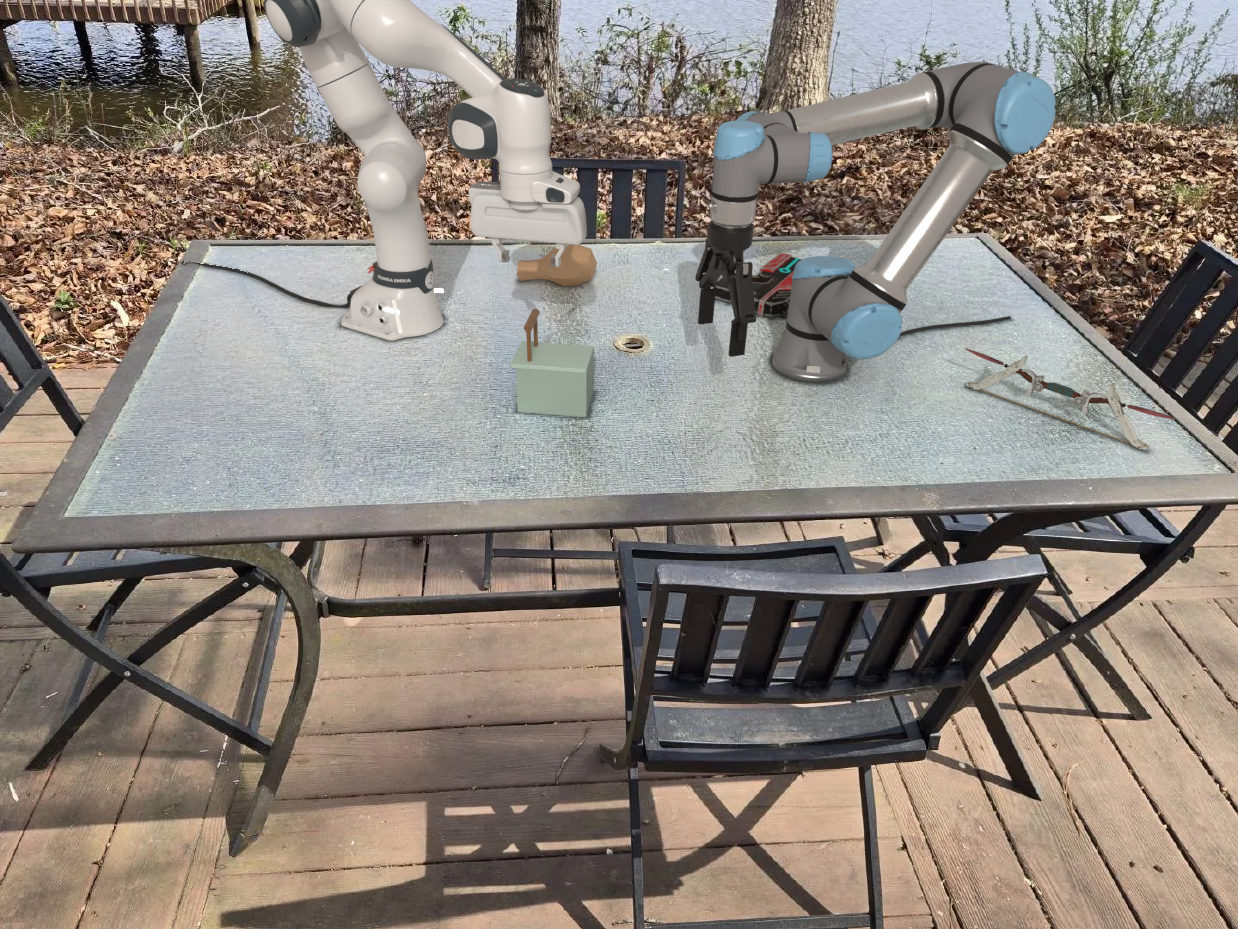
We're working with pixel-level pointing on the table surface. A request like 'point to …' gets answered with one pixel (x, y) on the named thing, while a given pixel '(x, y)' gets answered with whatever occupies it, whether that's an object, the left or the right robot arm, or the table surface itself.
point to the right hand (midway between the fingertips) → (720, 338)
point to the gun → (768, 286)
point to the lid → (550, 352)
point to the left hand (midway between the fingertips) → (530, 263)
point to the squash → (561, 267)
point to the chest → (555, 391)
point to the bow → (1079, 399)
